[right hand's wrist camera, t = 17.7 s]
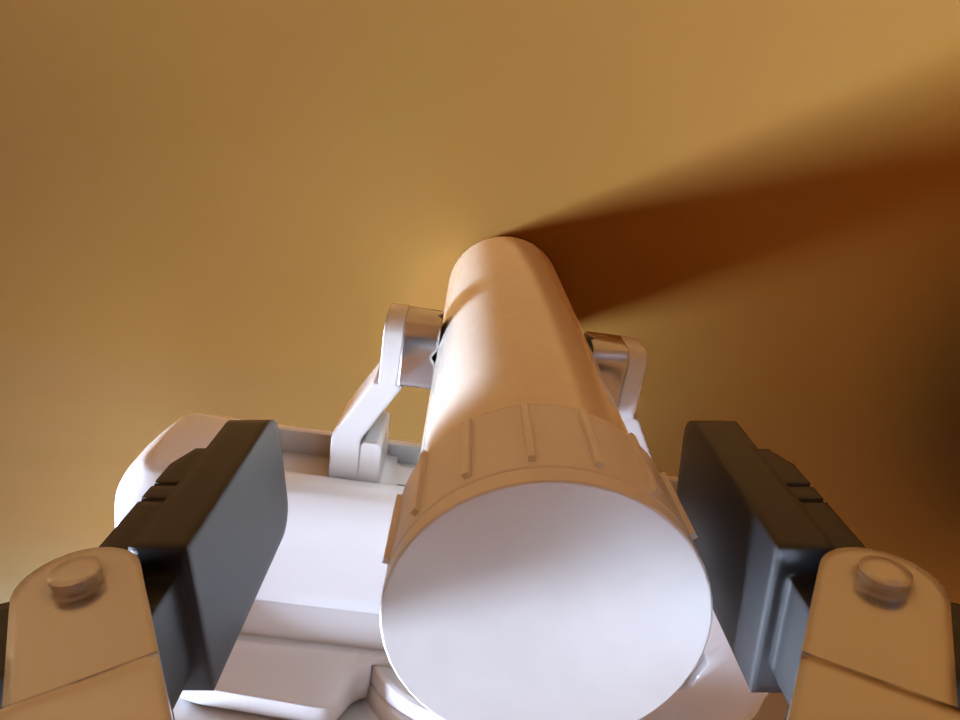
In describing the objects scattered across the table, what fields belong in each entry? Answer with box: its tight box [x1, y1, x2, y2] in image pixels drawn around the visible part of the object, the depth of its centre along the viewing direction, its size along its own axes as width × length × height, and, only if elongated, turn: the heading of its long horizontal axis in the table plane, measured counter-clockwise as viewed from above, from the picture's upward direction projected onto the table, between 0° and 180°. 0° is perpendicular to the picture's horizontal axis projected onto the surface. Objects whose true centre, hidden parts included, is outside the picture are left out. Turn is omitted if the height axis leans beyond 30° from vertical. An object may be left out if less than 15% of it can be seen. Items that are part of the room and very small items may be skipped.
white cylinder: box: [419, 236, 629, 457], centre depth 17 cm, size 4×4×16 cm
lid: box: [380, 403, 713, 720], centre depth 10 cm, size 4×4×2 cm
